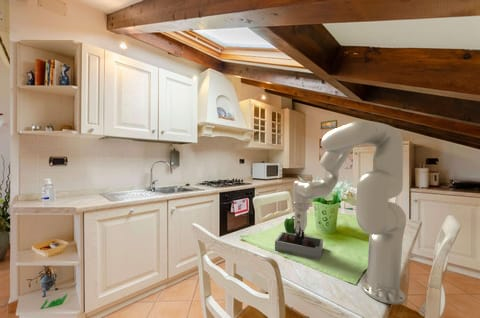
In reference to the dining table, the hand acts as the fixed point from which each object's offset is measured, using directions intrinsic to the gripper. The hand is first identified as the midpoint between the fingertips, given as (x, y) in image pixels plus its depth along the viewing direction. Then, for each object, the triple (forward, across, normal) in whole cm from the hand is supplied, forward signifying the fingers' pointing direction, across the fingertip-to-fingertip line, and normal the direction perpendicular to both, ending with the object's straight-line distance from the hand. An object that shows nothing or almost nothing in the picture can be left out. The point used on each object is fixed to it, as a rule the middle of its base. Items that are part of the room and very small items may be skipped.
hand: (299, 241), depth 109 cm
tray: (+4, 0, 0) cm, 4 cm away
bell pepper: (+4, +20, +8) cm, 22 cm away
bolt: (+3, 0, 0) cm, 3 cm away
